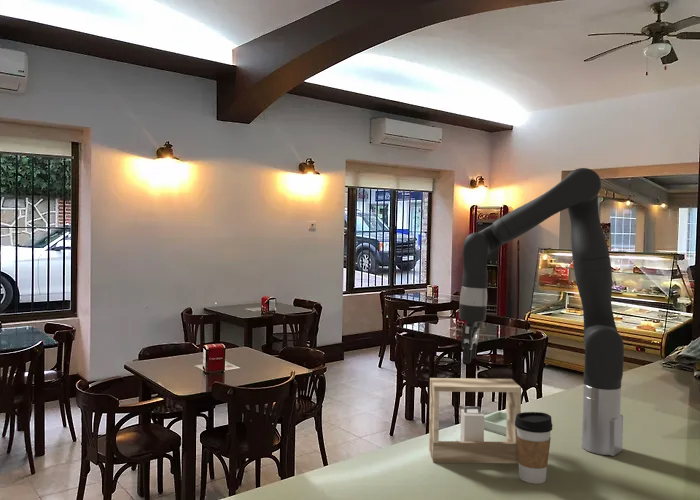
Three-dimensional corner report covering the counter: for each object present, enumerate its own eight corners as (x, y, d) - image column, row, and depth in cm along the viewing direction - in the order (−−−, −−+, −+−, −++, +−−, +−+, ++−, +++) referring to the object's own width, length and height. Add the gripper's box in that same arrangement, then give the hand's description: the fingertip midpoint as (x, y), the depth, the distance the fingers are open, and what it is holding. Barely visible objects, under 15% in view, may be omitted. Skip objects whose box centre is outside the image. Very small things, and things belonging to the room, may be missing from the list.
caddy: (460, 450, 150) (461, 403, 150) (479, 450, 150) (479, 403, 150) (464, 457, 145) (464, 409, 145) (483, 458, 145) (484, 409, 145)
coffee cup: (553, 487, 129) (555, 422, 128) (515, 484, 130) (516, 419, 130) (548, 472, 137) (550, 411, 136) (512, 469, 138) (513, 408, 138)
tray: (533, 428, 167) (533, 419, 167) (513, 438, 159) (513, 429, 159) (498, 418, 176) (498, 410, 176) (477, 427, 167) (477, 419, 167)
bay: (429, 449, 150) (429, 378, 150) (510, 450, 150) (511, 378, 149) (433, 462, 142) (434, 386, 141) (519, 463, 142) (521, 387, 141)
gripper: (482, 306, 152) (478, 366, 152) (490, 303, 165) (486, 358, 166) (455, 303, 155) (450, 362, 155) (464, 300, 168) (460, 354, 168)
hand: (468, 360), depth 160 cm, fingers open, 8 cm apart
